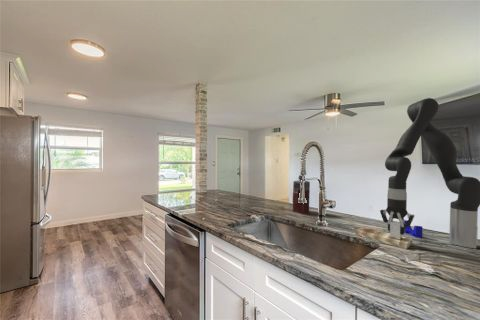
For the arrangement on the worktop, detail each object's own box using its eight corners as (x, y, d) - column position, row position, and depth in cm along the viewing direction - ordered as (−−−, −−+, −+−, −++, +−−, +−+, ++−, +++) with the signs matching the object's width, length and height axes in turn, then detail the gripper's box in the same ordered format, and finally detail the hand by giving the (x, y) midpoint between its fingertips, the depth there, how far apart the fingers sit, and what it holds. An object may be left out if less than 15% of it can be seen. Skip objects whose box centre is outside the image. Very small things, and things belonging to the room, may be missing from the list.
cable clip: (399, 230, 124) (399, 219, 124) (407, 230, 123) (408, 220, 123) (412, 237, 112) (412, 226, 112) (422, 238, 111) (422, 226, 111)
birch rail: (412, 244, 102) (412, 238, 102) (406, 249, 96) (406, 243, 96) (363, 231, 119) (363, 226, 119) (355, 234, 113) (355, 229, 113)
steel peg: (402, 241, 103) (402, 222, 103) (399, 242, 100) (400, 223, 100) (392, 238, 106) (392, 220, 106) (389, 240, 103) (390, 221, 103)
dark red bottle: (290, 211, 160) (291, 174, 160) (298, 209, 167) (299, 174, 167) (301, 214, 153) (302, 175, 153) (309, 212, 161) (310, 175, 161)
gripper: (417, 199, 100) (416, 235, 100) (382, 195, 111) (382, 227, 111) (413, 201, 95) (412, 239, 95) (377, 196, 106) (376, 230, 106)
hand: (396, 232), depth 103 cm, fingers closed on steel peg, 4 cm apart
